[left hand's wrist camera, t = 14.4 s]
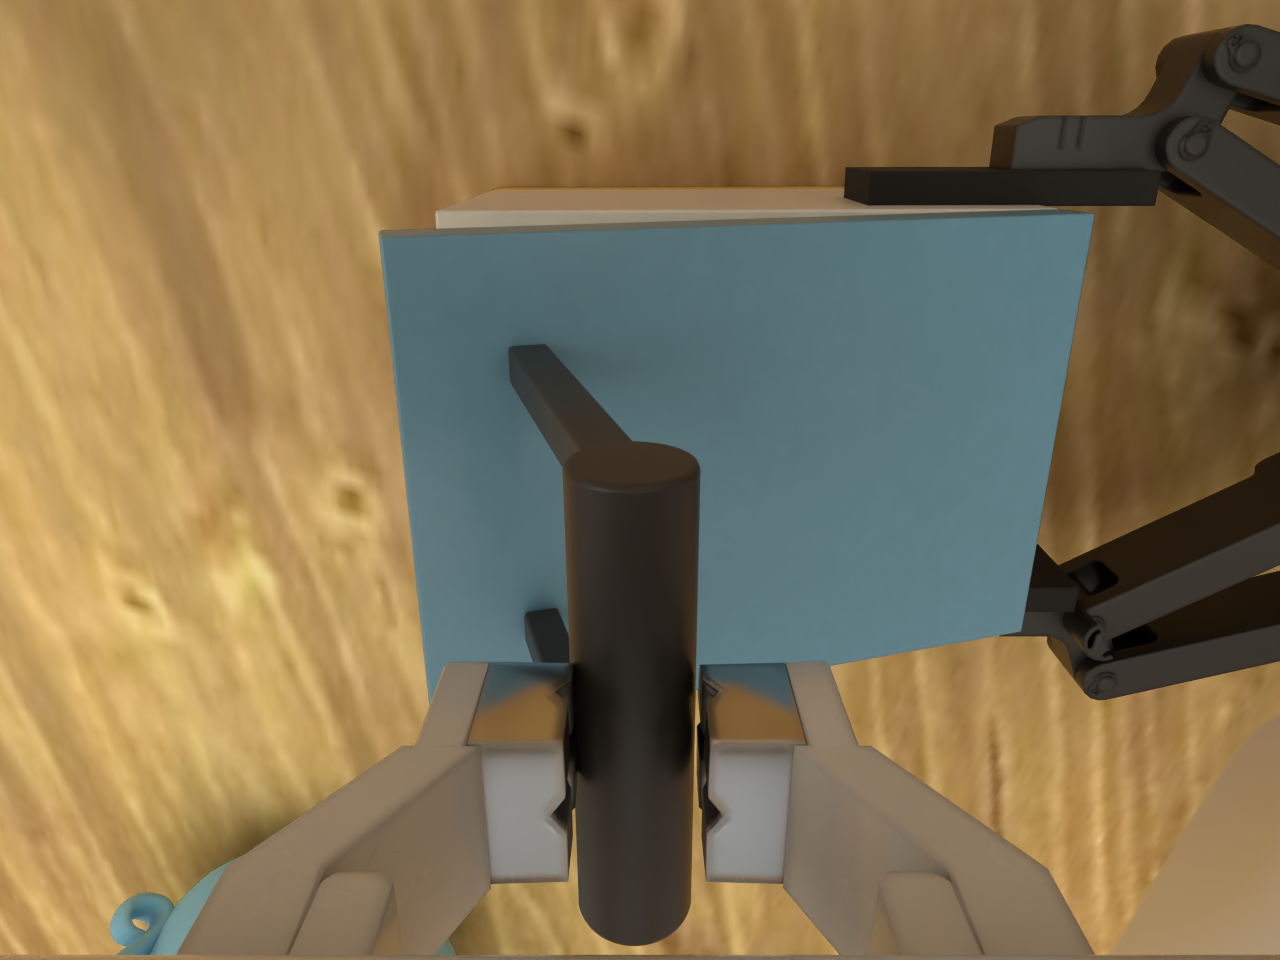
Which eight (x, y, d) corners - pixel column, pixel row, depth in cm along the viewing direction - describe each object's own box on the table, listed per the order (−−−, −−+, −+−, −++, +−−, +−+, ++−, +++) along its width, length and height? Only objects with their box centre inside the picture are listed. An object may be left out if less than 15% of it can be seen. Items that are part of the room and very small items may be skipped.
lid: (429, 704, 19) (477, 1094, 11) (378, 229, 15) (397, 325, 8) (990, 608, 23) (1316, 852, 15) (1054, 208, 19) (1525, 258, 11)
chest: (515, 483, 31) (467, 606, 23) (497, 187, 27) (433, 209, 19) (906, 483, 31) (997, 607, 23) (940, 185, 27) (1061, 207, 19)
